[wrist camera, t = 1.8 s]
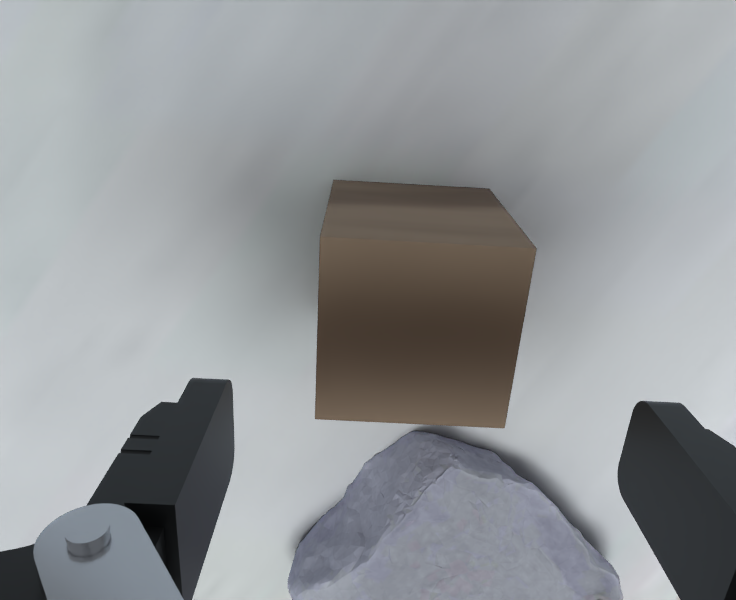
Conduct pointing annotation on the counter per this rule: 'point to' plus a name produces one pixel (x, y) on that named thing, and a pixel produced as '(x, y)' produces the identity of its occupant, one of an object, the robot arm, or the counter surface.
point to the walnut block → (419, 305)
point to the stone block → (446, 534)
